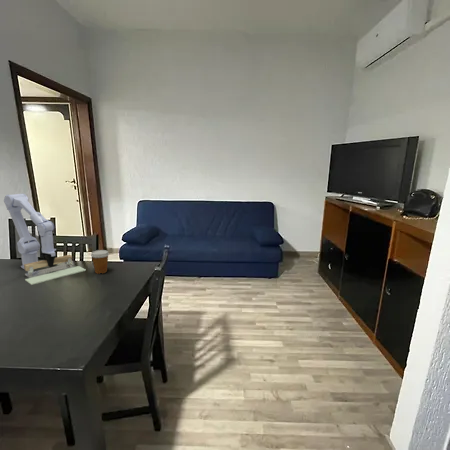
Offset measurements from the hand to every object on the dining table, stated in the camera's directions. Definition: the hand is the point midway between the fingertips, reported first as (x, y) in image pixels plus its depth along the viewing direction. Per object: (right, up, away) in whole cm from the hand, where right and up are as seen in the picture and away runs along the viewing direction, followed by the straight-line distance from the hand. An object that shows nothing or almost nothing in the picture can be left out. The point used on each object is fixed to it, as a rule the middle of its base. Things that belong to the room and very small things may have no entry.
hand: (49, 265), depth 164 cm
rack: (0, -3, +1) cm, 3 cm away
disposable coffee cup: (+29, -4, +2) cm, 29 cm away
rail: (0, 0, 0) cm, 0 cm away
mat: (+7, -5, -5) cm, 10 cm away
